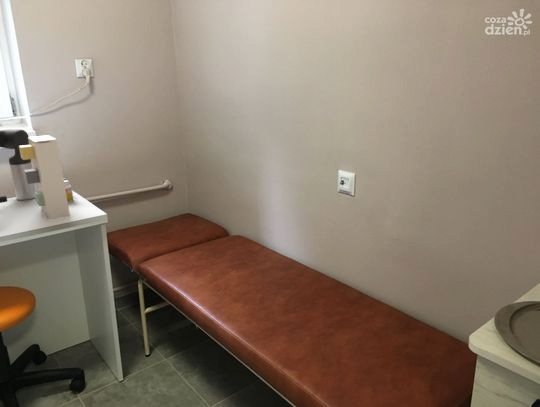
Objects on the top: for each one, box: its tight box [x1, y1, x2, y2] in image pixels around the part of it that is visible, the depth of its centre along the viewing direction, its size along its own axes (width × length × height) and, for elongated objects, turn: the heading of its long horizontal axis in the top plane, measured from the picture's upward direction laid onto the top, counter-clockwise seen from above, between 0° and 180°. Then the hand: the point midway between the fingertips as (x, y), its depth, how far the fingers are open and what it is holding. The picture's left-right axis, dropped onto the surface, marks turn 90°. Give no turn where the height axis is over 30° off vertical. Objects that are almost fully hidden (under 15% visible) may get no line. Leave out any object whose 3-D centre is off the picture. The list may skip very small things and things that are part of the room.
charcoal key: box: [24, 167, 40, 184], centre depth 182 cm, size 6×6×5 cm
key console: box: [28, 135, 71, 220], centre depth 185 cm, size 18×8×32 cm, turn 36°
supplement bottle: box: [64, 179, 74, 203], centre depth 204 cm, size 5×5×10 cm
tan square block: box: [19, 145, 36, 160], centre depth 179 cm, size 6×6×5 cm
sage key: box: [35, 190, 45, 207], centre depth 186 cm, size 6×6×5 cm
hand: (6, 198), depth 178 cm, fingers closed
